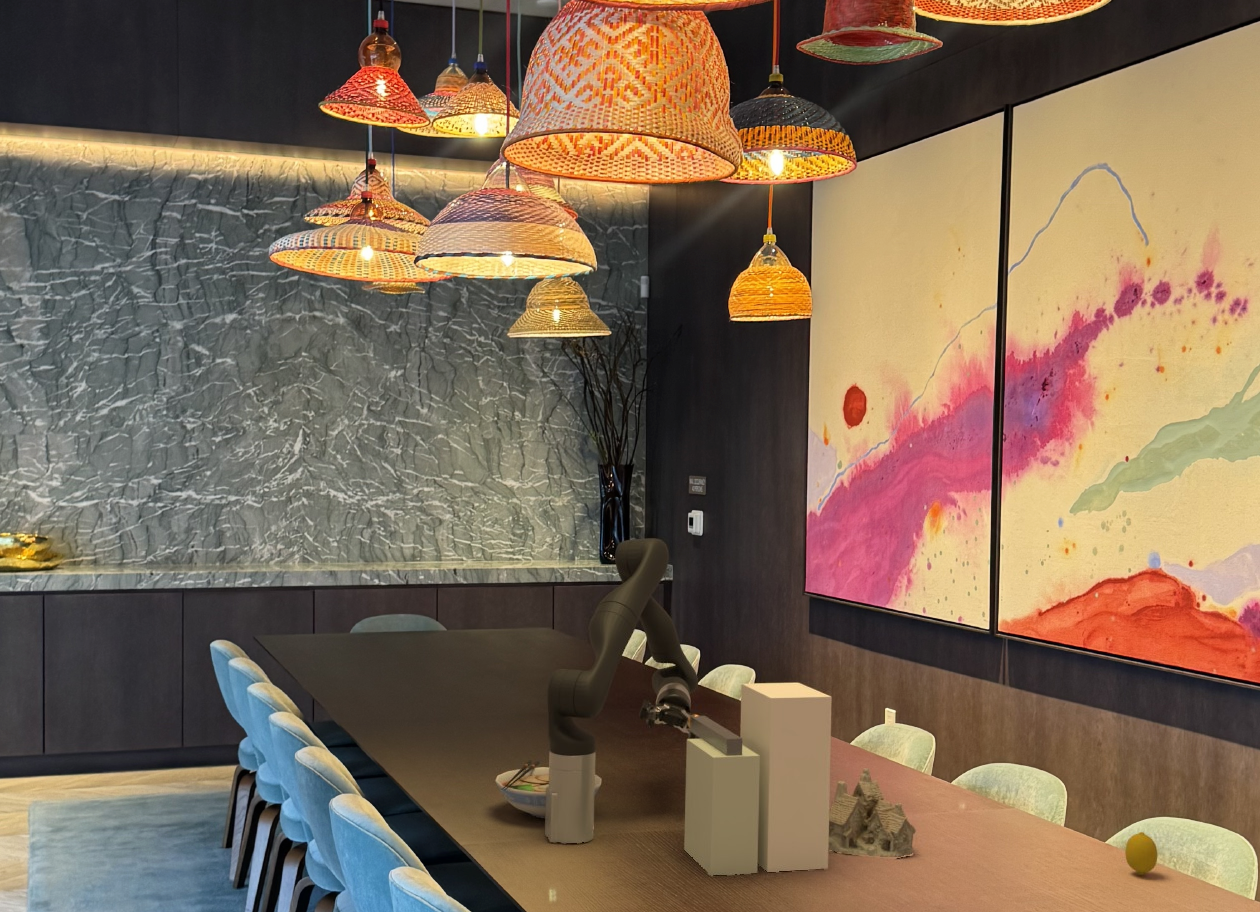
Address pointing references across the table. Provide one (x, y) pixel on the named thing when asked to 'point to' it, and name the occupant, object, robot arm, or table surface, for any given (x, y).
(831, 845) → the ceramic cottage
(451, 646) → the table surface
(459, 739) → the table surface
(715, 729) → the rod
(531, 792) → the ramen bowl
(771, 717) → the white stand
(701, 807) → the beige rectangular block
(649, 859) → the table surface
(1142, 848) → the lemon
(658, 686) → the robot arm
